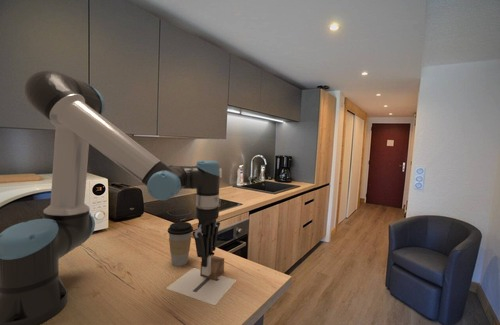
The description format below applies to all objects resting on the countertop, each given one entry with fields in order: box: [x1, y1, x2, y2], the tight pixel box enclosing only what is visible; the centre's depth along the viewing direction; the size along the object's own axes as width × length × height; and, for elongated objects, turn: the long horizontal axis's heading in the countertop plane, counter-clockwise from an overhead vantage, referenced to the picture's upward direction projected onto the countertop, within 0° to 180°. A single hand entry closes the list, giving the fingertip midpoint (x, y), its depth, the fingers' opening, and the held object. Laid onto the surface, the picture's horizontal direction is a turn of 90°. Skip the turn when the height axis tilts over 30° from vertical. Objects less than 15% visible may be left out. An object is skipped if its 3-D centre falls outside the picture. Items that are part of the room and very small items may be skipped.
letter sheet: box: [165, 267, 237, 306], centre depth 76 cm, size 14×18×1 cm
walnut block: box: [200, 255, 225, 280], centre depth 83 cm, size 6×6×5 cm
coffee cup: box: [167, 221, 194, 267], centre depth 89 cm, size 9×9×15 cm
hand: (206, 274), depth 79 cm, fingers closed
